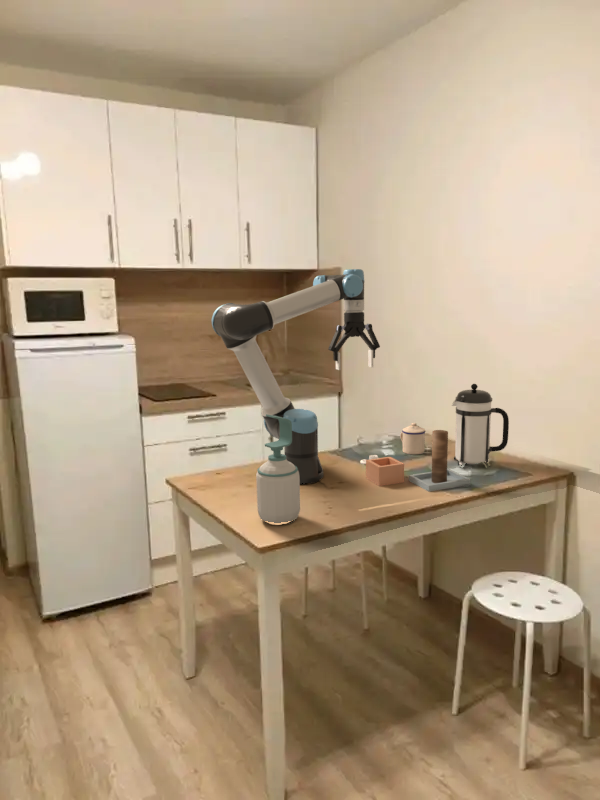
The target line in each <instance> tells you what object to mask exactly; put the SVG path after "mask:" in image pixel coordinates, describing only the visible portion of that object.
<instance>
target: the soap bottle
mask: <svg viewBox="0 0 600 800" xmlns="http://www.w3.org/2000/svg"><path fill="white" fill-rule="evenodd" d="M266 416H268V417H272V418H276V419H278V420H279V425H280V438H279V439H278V440H275V441H271V442H267V443H264V447H267V448H269V449H270V451H272V452H273V454H269V455H268V456H267V457H268V459H267V461H265V462H264V463H262V464H261V466H259V467H258V468H257V470H256V471H257V472H256V475H255V476H256V503H257V505H256V506H257V513H258V517H259V518H260V520H261V519H262V520H261V521H263V520H264V521H268V522H274V523H281V522H288V521H292V520H294V521H295V519H296V520H297V519H298V518H299V514H300V512H301V511H300V510H301V493H300V492H301V490H300V489H301V488H300V485H301V484H300V479H299V472H298V468H297V467H296V466H295V465H294V464H292V463H291V462H289V461H287V460H286V455H285V453H284V454H283V453H282V451H283V450H284V447H286V446H289V445H290V444H291V443H292V423H291V421H290V420H289V419H286V418H282V417H278V416H273V415H267V414H266ZM264 521H263V522H264Z"/></svg>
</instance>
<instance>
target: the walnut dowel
mask: <svg viewBox="0 0 600 800" xmlns="http://www.w3.org/2000/svg"><path fill="white" fill-rule="evenodd" d="M431 435H432V437H431V442H432V443H431V472H432V482H433V483H442V482H447V469H448V457H449V456H448V454H449V453H448V450H449V449H448V447H449V446H448V445H449V431H448V430H444V429H435V430H432V434H431Z"/></svg>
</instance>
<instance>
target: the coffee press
mask: <svg viewBox="0 0 600 800" xmlns="http://www.w3.org/2000/svg"><path fill="white" fill-rule="evenodd" d="M478 387H479V386H478V384H476V383H472V384H471V386H470V388H471V389H465V390H461V391H459V392H458V393H457V395H456V396H455V399H454V400H453V402H452V404H451V406H452V407H455V446H454V447H455V448H454V449H455V450H454V451H455V452H454V453H455V454H454V457H453V460H454V461H455V460H456V459H457V461H458V462H459V463H458V465H461V466H462V464H463V463H467V464H466V465H476V464H475V463H480V462H485V461H486V462H485V464H487V462H488V461H489V460H488V459H490V453H491V452H500V451H503V450H504V449H505V448H506V446H508V440H509V424H510V423H509V422H510V421H509V419H510V418H509V415H508V413H507V412H506V411H505V409H503V408H499V407H495V408H494V407H492V402H493V398H492V395H491V393H489V392H488V391H486V390H481V389H478ZM492 413H496V414H500V415H501V416H502V419H503V423H502V440H501V442H500V445H496V446H490V445H491V443H490V442H491V440H490V439H491V422H492V421H491V415H492Z"/></svg>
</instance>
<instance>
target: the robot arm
mask: <svg viewBox="0 0 600 800" xmlns="http://www.w3.org/2000/svg"><path fill="white" fill-rule="evenodd" d="M342 300H343V311H344V313H343V322H344V323H343V325H339V324H337V325H336V326H335V332H334V335H333V337H332V340H331V342H330V344H329V346H328V349H327V350H328V351H331V352H332V353H333V355H332V356H333V361H335V370H337V371H341V352H340V350H341V348H342V347H343V346H344V344H345V343H346V342H347V340H348V339H349V338H355V337H358V338H359V337H360V338H361V339H362V341H363V342H364V343H365V344H366V346H367V347H369V349H367V351H368V353H367V357H368V358H367V359H368V360H367V361H368V363H367V364H368V365H367V368H368V367H369V368H374V359H375V358H376V350H377V349H379V348H380V347H381V345H380V343H379V341H378V338H377V336H376V333H375V332H374V330H373V325H372V323H366V324H365V312H364V311H365V274H364V270H363V269H360V268H356V269H355V268H353V269H347V268H346V269H344V270H343V274H331V275H330V274H323V275H322V274H321V275H317V276H316V277H314V279H313V282H312V286H310V287H306V288H303V289H302V290H298V291H295V292H293V293H290V294H287V295H285V296H282V297H279V298H277V299H273V300H271V301H267V302H266V301H264V300H261V301H258V302H256V303H255V302H254V303H249V304H240V303H238V304H237V303H232V302H231V303H230V302H228V303H226V304H225V303H224V304H222V305H220V306H218V307H216V309H215V310H214V312H213V313H212V317H211V326H212V329H213V331H214V332H215V334H216V335H218V336H219V337H220V338H221V340H222V342H223V343H224V345H225V348H226V349H227V350H229V351H232V352H233V353H234V355H235V357H236V359H237V361H238V363H239V364H240V366H241V369H242V370H243V372H244V374H245V377H246V378H247V380H248V381H249V384H250V386H251V387H252V390H253V392H254V393H255V395H256V397H257V399H258V401H259V403H260V405H261V407H262V410H261V416H262V419H263V425H264V428H265V430H266V431H267V432H268V434H269V435H270V436H272V437H273V438H275V439H278V440H279V438H280V425H279V420H278V419H276V418H272V417H268V416H266V414H267V415H273V416H278V417H282V418H286V419H289V420H290V421H291V423H292V443H291V444H290V445H289V446H286V447H283V450H284V455H286V460H287V461H289V462H291V463H292V464H294V465H295V466H296V467H297V468H298V472H299V479H300V485H306V484H305V483H310V484H314V482H315V483H317V481H318V482H320V481H321V480H322V479H323V478H324V469H323V467H322V463H321V461H320V458H319V439H318V438H319V435H318V433H319V432H318V428H319V422H318V417H317V414H316V413H315V412H314V411H312V410H309V409H304V408H295V407H294V404H293V403H292V400H291V399H290V398H288V397H285V395H284V394H283V392H282V390H281V387H280V386H279V383H278V382H277V380H276V378H275V376H274V374H273V372H272V370H271V368H270V366H269V364H268V362H267V360H266V358H265V356H264V354H263V352H262V350H261V348H260V346H259V345H258V342H257V340H256V339H257V336H259V335H260V334H263V333H265V332H268V331H270V330H273V329H274V327H275V325H278V324H281V323H283V322H285V321H287V320H291V319H293V318H296V317H298V316H301V315H303V314H306V313H309V312H312V311H315V310H317V309H320V308H323V307H325V306H327V305H330V304H332V303H335V302H338V301H342ZM365 330H366V331H367V333H365V332H364V331H365ZM343 331H344V332H343ZM342 332H343V334H342ZM341 334H342V336H341ZM366 334H368V336H369V337H367V335H366ZM340 336H341V338H340ZM369 338H370V339H369ZM302 483H303V484H302Z"/></svg>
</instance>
